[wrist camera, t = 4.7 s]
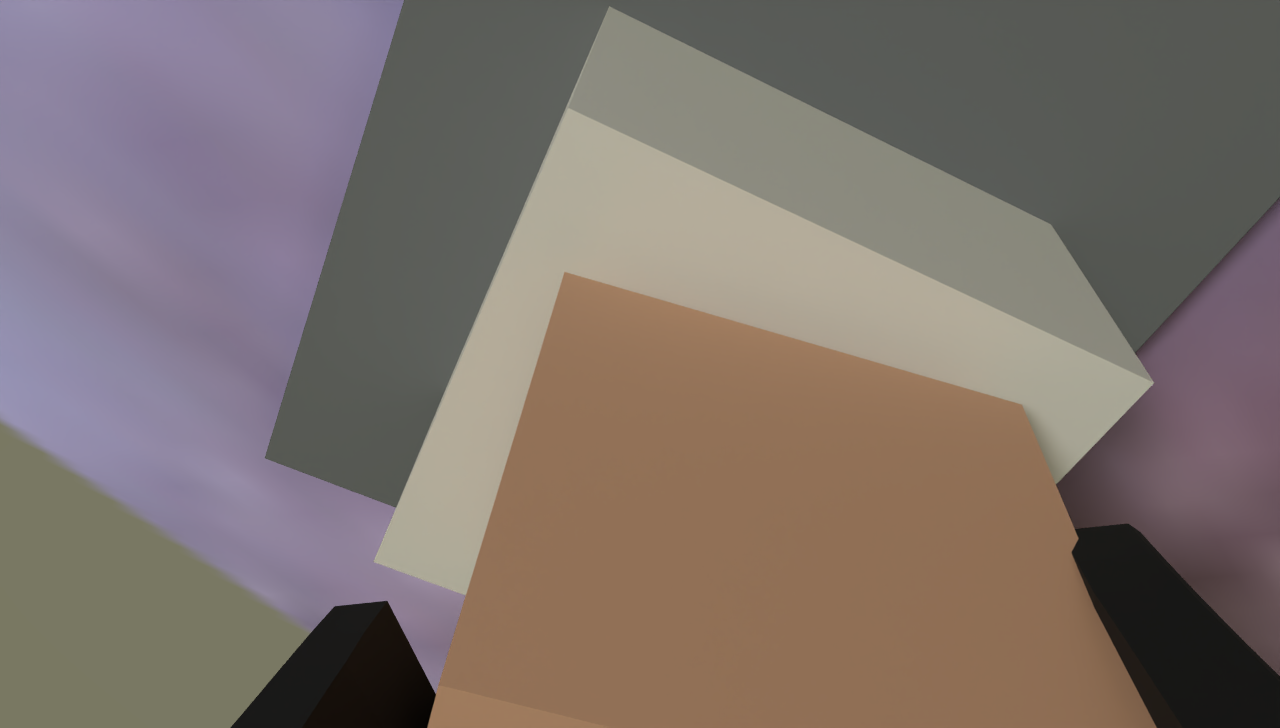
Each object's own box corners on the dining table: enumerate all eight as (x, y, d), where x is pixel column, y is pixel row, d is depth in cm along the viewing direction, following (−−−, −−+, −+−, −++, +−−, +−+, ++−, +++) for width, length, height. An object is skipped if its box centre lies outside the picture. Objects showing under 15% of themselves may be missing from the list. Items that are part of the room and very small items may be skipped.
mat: (1693, -300, 11) (1741, -300, 10) (834, 650, 20) (837, 672, 20) (720, -993, 8) (720, -1039, 8) (277, 437, 18) (264, 457, 17)
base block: (1051, 224, 14) (1154, 382, 11) (804, 535, 18) (823, 725, 14) (609, 5, 13) (567, 107, 9) (444, 391, 16) (373, 561, 13)
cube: (1021, 404, 10) (1222, 879, 6) (837, 688, 13) (887, 1145, 9) (564, 271, 10) (438, 685, 6) (475, 595, 12) (347, 1032, 8)
